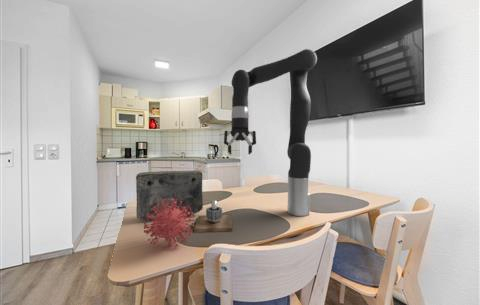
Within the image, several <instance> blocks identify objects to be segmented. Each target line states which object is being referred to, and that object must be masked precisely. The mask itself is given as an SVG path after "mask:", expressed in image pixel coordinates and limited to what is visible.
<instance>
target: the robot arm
mask: <svg viewBox="0 0 480 305" xmlns="http://www.w3.org/2000/svg"><path fill="white" fill-rule="evenodd" d="M317 61H318V57H317V54H316V52H315V51H313V50H312V49H310V48H307V49H306V48H305V49H303V50H300V51H298V52H296V53H295V54H292V55H289V56H287V57H285V58H282V59H279V60H276V61H273V62H269V63H267V64H262V65H259V66H256V67H254V68H252V69H251V70H249V71H246V70H245V69H238V70H236V71H235V72H234V73H233V75H232V79H231V86H232V88H233V94H232V99H231V115H230V116H231V117H230V118H231V130H230V131H229V130H225V131H224V137H223V144H224V145H225V146H227V153H228V154H229V155H232V144H233V143H234V141H237V142H238V141H242V142H243V141H245V142H246V143H247V144H248V150H247V152H248V153H247V154H248V155H251V154H252V152H253V146H254V145H256V144H257V132H256V130H252V131H249V116H250V115H249V98H248V97H249V89H250V87H253V86H255V85H258V84H262V83H265V82H266V83H267V82H269V81H272V80H274V79H276V78H279V77H281V76H283V75H286V74H288V73H290V75H291V77H290V78H291V91H290V104H289V105H290V107H289V108H290V109H289V110H290V111H289V139H288V147H287V151H286V152H287V156H288V158H289V160H290V161H289V170H288V173H287V213H288V214H289V215H292V216H295V217H305V216H309V215H310V207H311V194H310V193H309V177H310V176H309V174H310V171H311V161H312V153H311V148H310V146H308V145H307V144H306V131H307V127H308V124H309V120H310V116H311V106H312V104H311V102H312V101H311V96H310V93H309V91H308V88H307V87H308V86H307V80H308V72H310V71H311V70H313V68H314V67H315V65H317ZM230 135H231V139H230V140H229V142H228V137H229V136H230ZM248 136H251V138H252V141H250V139H249V137H248Z"/></svg>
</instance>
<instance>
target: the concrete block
mask: <svg viewBox="0 0 480 305" xmlns="http://www.w3.org/2000/svg"><path fill="white" fill-rule="evenodd" d="M135 181H136V183H135V184H136V185H135V186H136V190H135V191H136V193H135V194H136V219H138V220H148V218H149V220H152V219H153V218H150V217H146V214H148V213H149V214H150V216H151V214H152V215H153V216H156V213H154V212H155V211H153V210H151V209H152V208H153V207H154V206H156V207H157V208H158V210H161V209H160V208H161V207H162V208H163V209H164V207H163V204H164V203H163V204H162V203H161V202H160V201H162V200H164V199H168V198H169V199H168V201H167V200H166V201H164V202H165V206H166V205H169V206H171V204H172V205H174V204H173V202H174V201H173V202H171V199H174V200H175V202H177V203H176V206H177V207H176V208H178V206H179V204H180V201H182V204H180V206H179V209H180V211H181V210H183V208H181V206H183V207H187V206H189V207H190V208H191V210H192V211H190V210H189V208H185V209H188V210H189V213H190V215H189V214H188V216H191V215H194V214H198V213H199V212H202V210H203V208H204V206H203V200H204V198H203V171H201V170H196V169H194V170H164V171H161V170H160V171H145V172H144V171H143V172H139V173H137V174H136V176H135ZM176 199H178V200H177V201H176ZM159 202H160V204H159ZM157 204H159V206H158V205H157ZM160 205H161V206H160ZM173 207H174V206H173ZM167 208H168V207H167ZM170 208H171V207H170ZM155 210H156V209H155ZM188 210H187V211H188ZM156 211H157V210H156ZM157 212H158V211H157ZM191 212H193V213H192V214H191Z"/></svg>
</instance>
